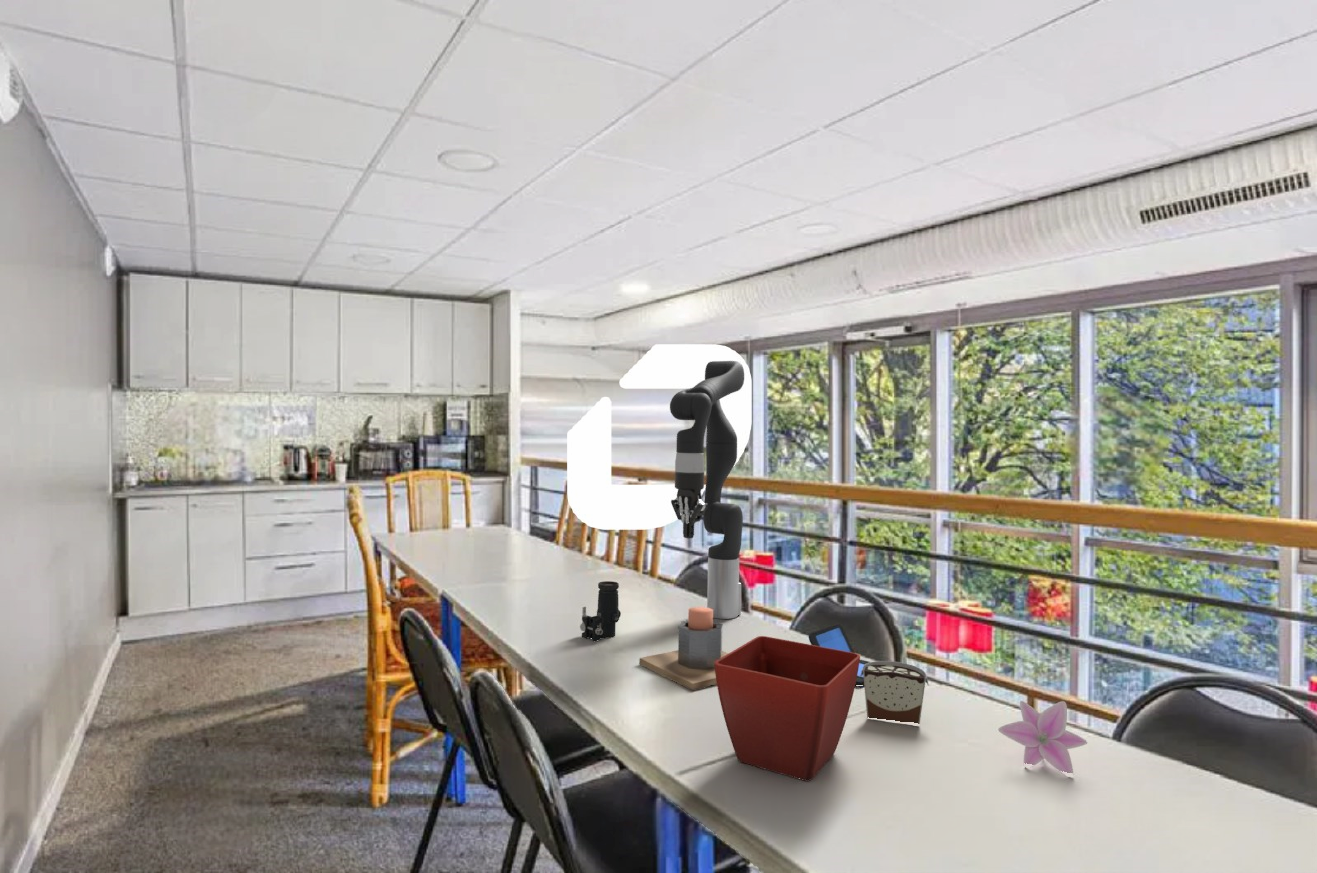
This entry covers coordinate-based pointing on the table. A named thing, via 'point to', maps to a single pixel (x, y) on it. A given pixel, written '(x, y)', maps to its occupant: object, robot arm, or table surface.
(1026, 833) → the table surface
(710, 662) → the grey octagonal cup
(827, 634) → the handheld game console
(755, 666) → the plant pot
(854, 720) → the table surface
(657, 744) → the table surface
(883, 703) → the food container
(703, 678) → the walnut board
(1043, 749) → the lily
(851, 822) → the table surface
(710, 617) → the salmon pink rounded cylinder
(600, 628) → the scope
